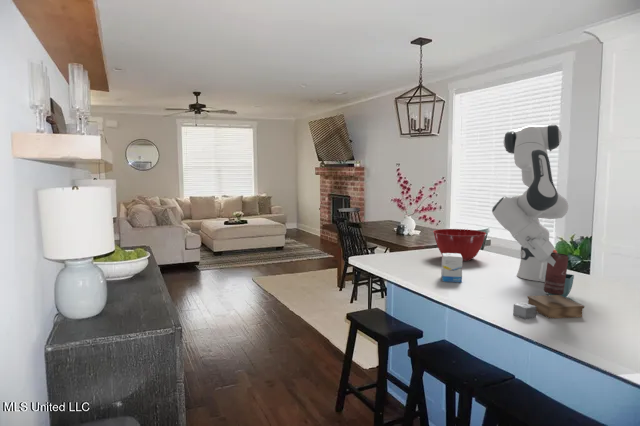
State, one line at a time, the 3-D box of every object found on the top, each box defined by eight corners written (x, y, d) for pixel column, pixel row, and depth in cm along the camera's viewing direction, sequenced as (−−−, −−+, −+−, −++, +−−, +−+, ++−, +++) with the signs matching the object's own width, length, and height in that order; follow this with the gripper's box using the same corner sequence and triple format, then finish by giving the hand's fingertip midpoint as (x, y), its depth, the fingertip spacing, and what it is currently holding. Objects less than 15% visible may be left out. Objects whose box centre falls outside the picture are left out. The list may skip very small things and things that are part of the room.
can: (554, 290, 151) (560, 252, 150) (567, 295, 145) (572, 256, 143) (539, 289, 150) (544, 251, 149) (551, 295, 144) (556, 254, 143)
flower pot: (548, 292, 172) (549, 271, 171) (573, 296, 166) (574, 274, 165) (543, 297, 165) (544, 275, 164) (569, 302, 159) (570, 279, 159)
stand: (558, 305, 155) (559, 295, 155) (583, 317, 143) (584, 305, 142) (526, 306, 154) (527, 296, 154) (548, 318, 142) (549, 307, 141)
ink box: (462, 282, 187) (463, 256, 186) (442, 281, 189) (443, 256, 188) (459, 277, 195) (460, 253, 194) (440, 276, 197) (441, 252, 196)
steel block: (523, 313, 147) (524, 302, 147) (535, 317, 143) (536, 306, 142) (513, 315, 145) (513, 304, 145) (525, 319, 141) (525, 308, 140)
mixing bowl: (422, 255, 247) (423, 229, 246) (464, 252, 256) (464, 227, 254) (451, 265, 220) (452, 236, 219) (496, 262, 229) (497, 234, 227)
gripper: (532, 233, 141) (564, 265, 136) (539, 226, 158) (568, 255, 153) (517, 245, 144) (547, 277, 139) (526, 237, 161) (553, 265, 156)
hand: (558, 265), depth 146 cm, fingers closed on can, 4 cm apart
